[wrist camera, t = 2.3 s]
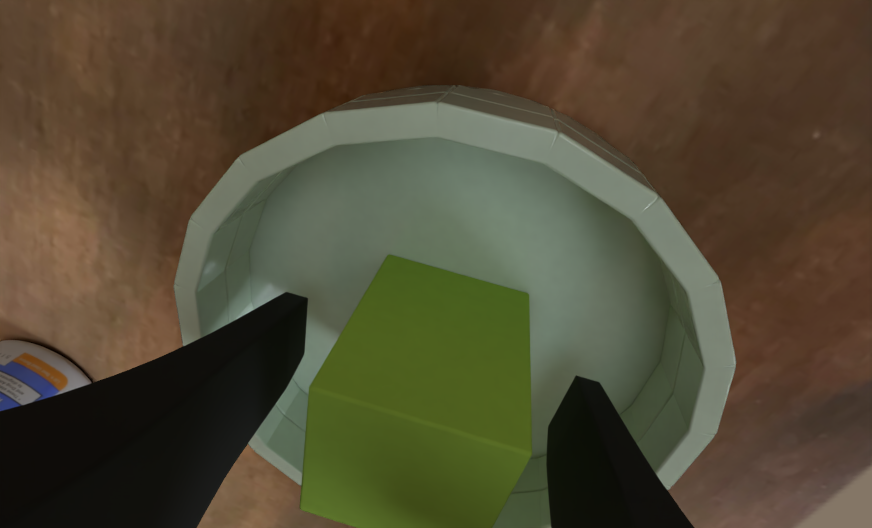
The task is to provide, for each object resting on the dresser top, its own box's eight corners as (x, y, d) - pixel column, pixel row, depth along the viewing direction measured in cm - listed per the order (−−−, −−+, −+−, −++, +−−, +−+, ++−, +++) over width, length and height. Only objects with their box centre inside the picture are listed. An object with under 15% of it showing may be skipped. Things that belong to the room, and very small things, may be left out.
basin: (777, 362, 12) (849, 458, 9) (434, 495, 18) (419, 575, 15) (468, -65, 8) (444, -105, 6) (173, 277, 14) (96, 333, 12)
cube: (530, 292, 11) (533, 455, 7) (489, 393, 13) (473, 565, 9) (388, 252, 12) (307, 387, 7) (369, 357, 14) (298, 510, 9)
